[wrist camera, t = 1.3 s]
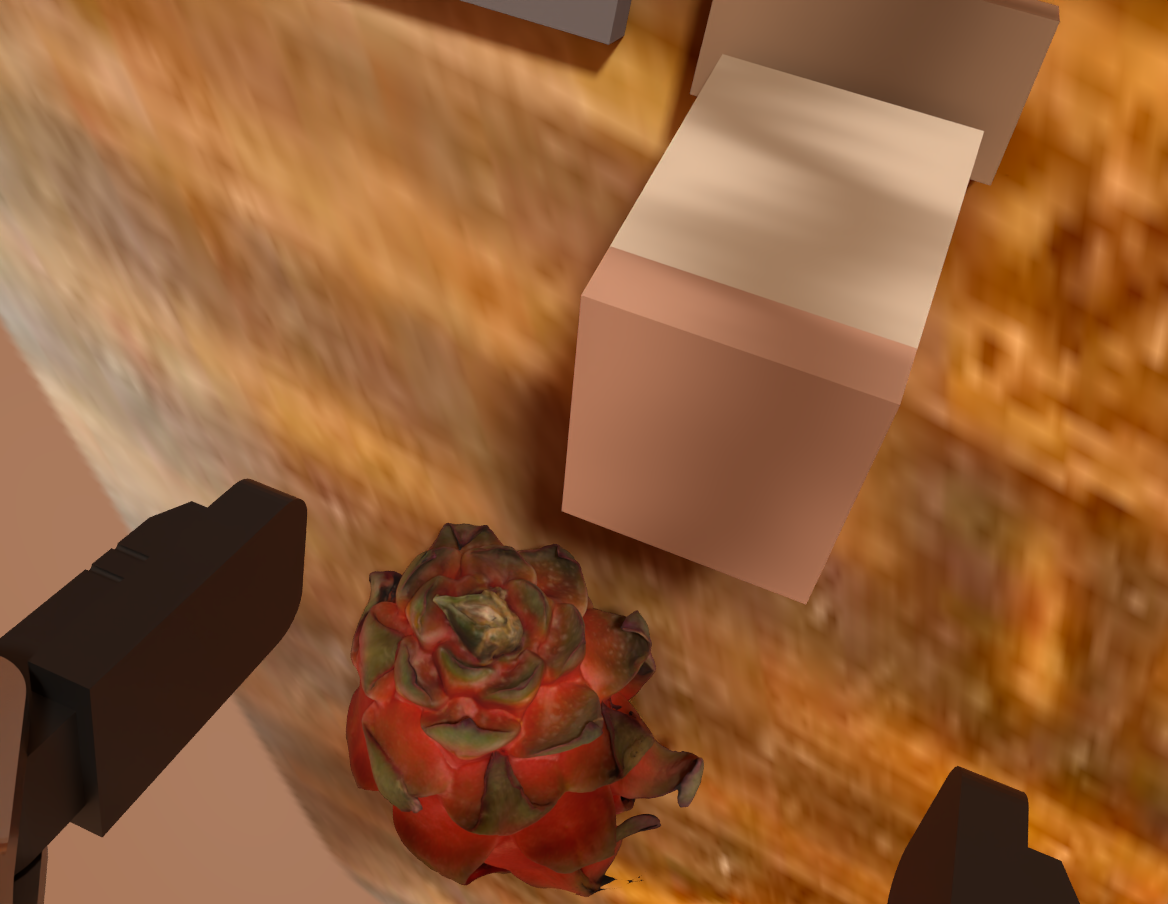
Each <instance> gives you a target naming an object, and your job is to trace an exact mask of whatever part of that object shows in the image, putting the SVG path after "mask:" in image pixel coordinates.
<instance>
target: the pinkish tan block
mask: <svg viewBox="0 0 1168 904" xmlns="http://www.w3.org/2000/svg"><path fill="white" fill-rule="evenodd" d="M983 133H984V131H982V130H978V129H975V128H971V127H968V126H965V125H961V124H958V123H955V122H951V121H948V120H944V119H941V118H938V117H934V116H931V115H927V114H924V113H921V112H917V111H914V110H910V109H907V108H904V107H900V106H897V105H893V104H890V103H887V102H883V101H880V100H877V99H873V98H870V97H866V96H863V95H860V94H856V93H853V92H849V91H846V90H843V89H839V88H836V87H832V86H829V85H826V84H822V83H819V82H816V81H812V80H809V79H805V78H802V77H799V76H795V75H792V74H788V73H785V72H782V71H778V70H775V69H771V68H768V67H765V66H761V65H758V64H755V63H751V62H748V61H744V60H741V59H738V58H734V57H731V56H727V55H724V54H722V56H721V57H720V59H719V61H718V63H717V64H716V66H715V68H714V69H713V71H712V73H711V75H710V76H709V78H708V80H707V81H706V83H705V85H704V86H703V88H702V90H701V92H700V93H699V95H698V97H697V98H696V100H695V102H694V104H693V105H692V107H691V109H690V110H689V112H688V114H687V116H686V117H685V119H684V121H683V122H682V124H681V126H680V127H679V129H678V131H677V133H676V134H675V136H674V138H673V139H672V141H671V143H670V145H669V146H668V148H667V150H666V151H665V153H664V155H663V156H662V158H661V160H660V162H659V163H658V165H657V167H656V168H655V170H654V172H653V174H652V175H651V177H650V179H649V180H648V182H647V184H646V185H645V187H644V189H643V191H642V192H641V194H640V196H639V197H638V199H637V201H636V203H635V204H634V206H633V208H632V209H631V211H630V213H629V214H628V216H627V218H626V220H625V221H624V223H623V225H622V226H621V228H620V230H619V232H618V233H617V235H616V237H615V238H614V240H613V242H612V243H611V245H610V247H609V249H608V250H607V252H606V254H605V255H604V257H603V259H602V261H601V262H600V264H599V266H598V267H597V269H596V271H595V273H594V274H593V276H592V278H591V279H590V281H589V283H588V284H587V286H586V288H585V290H584V291H583V293H582V295H581V303H580V314H579V325H578V336H577V347H576V358H575V369H574V380H573V391H572V402H571V413H570V425H569V436H568V447H567V458H566V469H565V480H564V491H563V502H562V511H563V512H565V513H568V514H571V515H573V516H576V517H578V518H581V519H584V520H586V521H589V522H591V523H594V524H597V525H599V526H602V527H605V528H607V529H610V530H612V531H615V532H618V533H620V534H623V535H626V536H628V537H631V538H633V539H636V540H639V541H641V542H644V543H646V544H649V545H652V546H654V547H657V548H660V549H662V550H665V551H667V552H670V553H673V554H675V555H678V556H680V557H683V558H686V559H688V560H691V561H694V562H696V563H699V564H701V565H704V566H707V567H709V568H712V569H714V570H717V571H720V572H722V573H725V574H728V575H730V576H733V577H735V578H738V579H741V580H743V581H746V582H748V583H751V584H754V585H756V586H759V587H762V588H764V589H767V590H769V591H772V592H775V593H777V594H780V595H783V596H785V597H788V598H790V599H793V600H796V601H798V602H801V603H803V604H807V601H808V599H809V597H810V595H811V593H812V591H813V589H814V587H815V584H816V582H817V580H818V578H819V576H820V574H821V572H822V570H823V567H824V565H825V563H826V561H827V559H828V557H829V555H830V553H831V550H832V548H833V546H834V544H835V542H836V540H837V538H838V535H839V533H840V531H841V529H842V527H843V525H844V523H845V521H846V518H847V516H848V514H849V512H850V510H851V508H852V506H853V504H854V501H855V499H856V497H857V495H858V493H859V491H860V489H861V487H862V484H863V482H864V480H865V478H866V476H867V474H868V472H869V470H870V467H871V465H872V463H873V461H874V459H875V457H876V455H877V453H878V450H879V448H880V446H881V444H882V442H883V440H884V438H885V436H886V433H887V431H888V429H889V427H890V425H891V423H892V421H893V419H894V416H895V414H896V412H897V410H898V408H899V406H900V403H901V400H902V397H903V393H904V390H905V387H906V384H907V380H908V377H909V374H910V371H911V367H912V364H913V361H914V358H915V354H916V351H917V348H918V345H919V341H920V338H921V335H922V332H923V328H924V325H925V322H926V319H927V315H928V312H929V309H930V306H931V302H932V299H933V296H934V293H935V289H936V286H937V283H938V280H939V276H940V273H941V270H942V267H943V263H944V260H945V257H946V254H947V250H948V247H949V244H950V241H951V237H952V234H953V231H954V228H955V224H956V221H957V218H958V215H959V211H960V208H961V205H962V202H963V198H964V195H965V192H966V189H967V185H968V182H969V179H970V176H971V172H972V169H973V166H974V163H975V159H976V156H977V153H978V150H979V146H980V143H981V140H982V137H983Z"/></svg>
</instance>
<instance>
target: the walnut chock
mask: <svg viewBox="0 0 1168 904" xmlns="http://www.w3.org/2000/svg"><path fill="white" fill-rule="evenodd" d="M1059 22H1060V20H1059V6H1056V5H1052V4H1049V3H1045V2H1041V1H1038V0H713V2H712V6H711V10H710V14H709V18H708V22H707V26H706V30H705V34H704V38H703V42H702V46H701V50H700V54H699V58H698V62H697V66H696V70H695V74H694V79H693V83H692V87H691V91H690V94H691V95H694V96H697V97H698V95H699V93H700V92H701V90H702V88H703V86H704V85H705V83H706V81H707V80H708V78H709V76H710V75H711V73H712V71H713V69H714V68H715V66H716V64H717V63H718V61H719V59H720V57H721V56H722V54H724V55H727V56H731V57H734V58H738V59H741V60H744V61H748V62H751V63H755V64H758V65H761V66H765V67H768V68H771V69H775V70H778V71H782V72H785V73H788V74H792V75H795V76H799V77H802V78H805V79H809V80H812V81H816V82H819V83H822V84H826V85H829V86H832V87H836V88H839V89H843V90H846V91H849V92H853V93H856V94H860V95H863V96H866V97H870V98H873V99H877V100H880V101H883V102H887V103H890V104H893V105H897V106H900V107H904V108H907V109H910V110H914V111H917V112H921V113H924V114H927V115H931V116H934V117H938V118H941V119H944V120H948V121H951V122H955V123H958V124H961V125H965V126H968V127H971V128H975V129H978V130H982V131H984V133H983V137H982V140H981V143H980V146H979V150H978V153H977V156H976V159H975V163H974V166H973V169H972V172H971V176H970V179H971V180H974V181H978V182H981V183H984V184H987V185H991V183H992V181H993V178H994V176H995V174H996V171H997V169H998V167H999V164H1000V162H1001V159H1002V157H1003V155H1004V152H1005V150H1006V148H1007V145H1008V143H1009V140H1010V138H1011V136H1012V133H1013V131H1014V129H1015V126H1016V124H1017V122H1018V119H1019V117H1020V114H1021V112H1022V110H1023V107H1024V105H1025V103H1026V100H1027V98H1028V95H1029V93H1030V91H1031V88H1032V86H1033V84H1034V81H1035V79H1036V77H1037V74H1038V72H1039V69H1040V67H1041V65H1042V62H1043V60H1044V58H1045V55H1046V53H1047V50H1048V48H1049V46H1050V43H1051V41H1052V39H1053V36H1054V34H1055V32H1056V29H1057V27H1058V24H1059Z"/></svg>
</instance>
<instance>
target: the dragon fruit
mask: <svg viewBox="0 0 1168 904" xmlns="http://www.w3.org/2000/svg"><path fill="white" fill-rule="evenodd" d="M369 581H370V583H371V594H370V599H369V602H368V605H367V606H366V608H365V610H364V612H363V614H362V616H361V619H360V621H359V623H358V626H357V629H356V632H355V635H354V638H353V643H352V649H351V660H352V663H353V665H354V666H355V667H356V669H357V671H358V673H359V676H360V686H359V688H358V689H357V690H356V691H355V693H354V694H353V696H352V699H351V703H350V706H349V710H348V716H347V724H346V739H347V743H348V749H349V758H350V765H351V771H352V773H353V776H354V778H355V781H356V783H357V786H358V788H362V789H364V790H372V791H380V793H381V794H382V795H383V796H384V798H386V799H387V800H389V801H390V803H391V804H393V820H394V825H395V828H396V831H397V833H398V835H399V837H400V839H401V841H402V842H403V844H404V845H405V846H406V847H407V849H408V850H409V851H410V852H411V853H412V854H413V855H415V856H416V857H417V858H418V859H419V860H421V861H422V862H423V863H424V864H425V865H427V866H428V867H429V868H430V869H432V870H434V871H436V872H439V873H440V874H441V875H442V876H444V877H446V878H449V879H452V880H454V881H455V882H457V883H459V884H461V885H468V884H470V883H471V882H472V881H474V880H475V879H477V878H479V877H481V876H484V875H487V874H490V873H502V874H506V873H512V874H514V876H516V877H517V878H519V879H520V880H522V881H524V882H525V883H527V884H529V885H531V886H533V887H537V888H557V889H563V890H567V891H571V892H574V893H576V895H580V896H584V897H589V896H590V895H592V894H594V893H596V892H598V891H601V890H605V889H600V887H601V886H603V885H605V884H608V883H610V882H612V881H614V880H618V879H614V878H612V877H609V876H606V875H605V873H606V871H607V869H608V868H609V866H610V865H611V863H612V862H613V860H614V858H615V856H616V855H617V853H618V851H619V848H620V846H621V843H622V839H623V838H625V837H627V836H630V835H632V834H634V833H637V832H640V831H646V830H651V829H655V828H658V827H660V826H661V824H660V820H659V819H658V818H657V817H656V816H654V815H650V814H642V815H637V816H634V817H631V818H629V819H627V820H626V821H624V822H623V823H622V824H620V825H619V826H616V814H620V813H622V812H624V811H628V810H631V809H632V808H633V805H634V802H635V799H636V798H648V799H649V798H655V797H660V796H664V795H666V794H668V793H671V792H673V791H675V790H678V797H677V798H678V804H679V806H680V807H688V806H689V804H690V803H691V802H692V800H693V798H694V796H695V794H696V791H697V789H698V787H699V785H700V783H701V778H702V774H703V770H704V763H703V759H702V758H699V757H698V756H696V755H694V754H692V753H689V752H684V751H682V752H677V751H671V750H669V749H667V748H666V747H664V746H662V745H660V744H659V743H658V742H657V741H656V740H655V739H654V737H653V735H652V733H651V732H650V730H649V729H648V727H647V726H646V725H645V723H644V722H643V721H642V719H641V718H640V716H639V714H638V713H637V711H636V710H635V709H634V707H633V706H632V705H631V704H630V703H629V702H628V700H629V699H631V698H632V697H633V696H635V695H636V694H637V692H639V690H640V689H641V687H642V686H643V685H644V684H645V683H646V682H647V681H648V680H649V679H650V677H651V676H652V675H653V674H654V672H655V670H656V666H655V662H654V659H653V657H652V654H651V646H652V643H651V639H650V636H649V629H648V625H647V623H646V621H645V620H644V619H643V617H642V616H641V615H640V613H639V612H638V611H635V612H633V613H632V614H630V615H629V616H627V617H625V616H621V615H616V614H613V613H607V612H603V611H601V610H598V609H593V604H592V602H591V600H590V598H589V597H588V594H587V588H586V584H585V581H584V577H583V574H582V571H581V567H580V565H579V563H578V562H577V561H576V560H575V559H574V557H573V556H572V555H571V554H570V553H569V552H568V551H566V550H565V549H563V548H562V547H560V546H559V545H558V544H552V545H549V546H544V547H542V548H540V549H535V550H521V551H516V550H515V549H514V548H512V547H509V546H503V544H502V543H501V542H500V541H499V539H498V538H497V537H496V535H495V534H494V533H493V531H492V530H491V529H489V527H488V525H483V526H475V525H470V524H451V523H446V524H445V525H444V526H443V528H442V529H441V531H440V533H439V535H438V537H437V539H436V540H435V542H434V543H433V545H432V546H431V548H430V549H429V550H428V551H425V552H423V553H421V554H419V555H418V556H417V557H416V558H415V559H414V560H413V561H412V562H411V564H410V565H409V566H408V568H407V569H406V570H405V572H404V574H403V575H401V574H399V573H397V572H395V571H384V572H377V571H375V572H372V573H370V575H369ZM639 878H640V877H639ZM628 881H629V883H630V882H636V881H632V880H628ZM640 881H642V880H640ZM614 889H615V888H614ZM569 894H570V893H569Z"/></svg>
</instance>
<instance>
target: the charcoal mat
mask: <svg viewBox="0 0 1168 904" xmlns="http://www.w3.org/2000/svg"><path fill="white" fill-rule="evenodd" d="M461 1H464V2H468V3H471V4H474V5H478V6H481V7H484V8H488V9H491V10H494V11H498V12H501V13H504V14H508V15H511V16H514V17H518V18H521V19H524V20H528V21H531V22H534V23H538V24H541V25H544V26H548V27H551V28H554V29H558V30H561V31H565V32H568V33H571V34H575V35H578V36H581V37H585V38H588V39H591V40H595V41H598V42H601V43H605V44H608V45H609V44H611V43H613V42H614V41H616V40H618V39H619V38H621V37H623V36H624V33H625V28H626V24H627V19H628V14H629V9H630V4H631V0H461Z"/></svg>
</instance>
